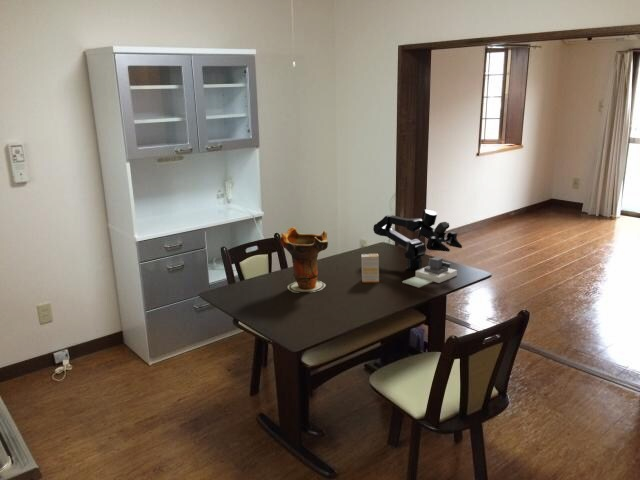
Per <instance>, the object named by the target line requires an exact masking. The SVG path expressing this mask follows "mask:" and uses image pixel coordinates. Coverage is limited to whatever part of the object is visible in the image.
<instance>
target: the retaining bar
mask: <svg viewBox="0 0 640 480" xmlns="http://www.w3.org/2000/svg"><path fill="white" fill-rule="evenodd" d="M430 259H431V258H430V257H429V258H428V261H427V262H428V265H427V266H430ZM442 266H443V267H447V268H450V269H452V263H450V262H447V261H442Z"/></svg>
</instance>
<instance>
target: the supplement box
mask: <svg viewBox="0 0 640 480" xmlns="http://www.w3.org/2000/svg"><path fill="white" fill-rule="evenodd" d="M360 257H361V259H360V260H361V283H379V282H380V265H379V263H380V262H379V261H380V260H379V258H380V257H379V253H362V254H361V256H360Z"/></svg>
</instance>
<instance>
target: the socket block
mask: <svg viewBox="0 0 640 480" xmlns="http://www.w3.org/2000/svg"><path fill="white" fill-rule="evenodd" d="M426 267H428V265H427V266H426ZM424 268H425V267H423V268H422V269H419V270H417V271H415V276H417V277H420V278H424V279H427V280H431V281H433V282H435V283H438V284H440V283H442V282H445V281H448V280H450V279H452V278H455V277H456V276H458V270H457V269H455V268H454V269H453V268H448V271H445V272H443V273H440V274H434V273H431V272H427V271H424ZM415 276H414V277H415Z"/></svg>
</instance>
